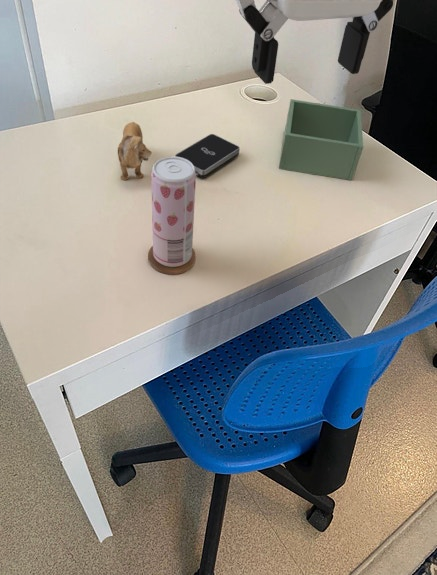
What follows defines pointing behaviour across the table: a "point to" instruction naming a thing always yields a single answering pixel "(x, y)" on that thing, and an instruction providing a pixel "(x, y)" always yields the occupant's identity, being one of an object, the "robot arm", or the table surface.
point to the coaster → (170, 270)
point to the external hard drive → (209, 154)
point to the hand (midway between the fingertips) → (306, 72)
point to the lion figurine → (132, 150)
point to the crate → (322, 140)
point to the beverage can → (173, 210)
